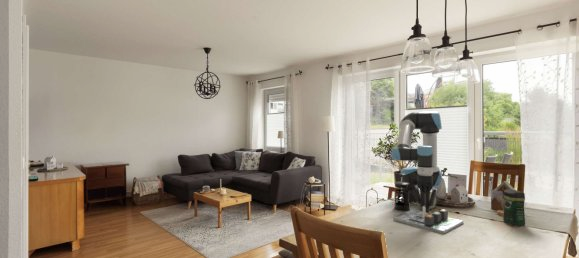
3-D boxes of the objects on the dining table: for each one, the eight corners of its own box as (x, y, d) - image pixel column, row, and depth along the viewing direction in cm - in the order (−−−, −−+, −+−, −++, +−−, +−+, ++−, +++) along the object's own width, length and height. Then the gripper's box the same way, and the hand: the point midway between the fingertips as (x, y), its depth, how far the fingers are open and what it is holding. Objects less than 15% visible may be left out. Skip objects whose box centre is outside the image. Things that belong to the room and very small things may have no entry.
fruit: (422, 205, 202) (422, 183, 201) (439, 209, 192) (439, 186, 192) (413, 208, 196) (413, 185, 195) (430, 212, 186) (430, 188, 186)
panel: (414, 212, 186) (414, 209, 186) (463, 223, 165) (463, 220, 165) (393, 220, 171) (393, 217, 171) (443, 234, 150) (443, 230, 150)
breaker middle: (435, 219, 167) (435, 211, 167) (441, 220, 164) (441, 212, 164) (432, 221, 164) (432, 213, 164) (437, 222, 162) (437, 214, 161)
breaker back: (442, 216, 172) (442, 208, 172) (447, 217, 169) (447, 209, 169) (438, 218, 169) (438, 210, 169) (444, 219, 167) (444, 211, 167)
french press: (391, 206, 199) (391, 172, 198) (405, 206, 199) (405, 172, 199) (398, 212, 187) (398, 175, 187) (413, 211, 188) (413, 175, 187)
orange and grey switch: (428, 222, 162) (428, 214, 162) (434, 223, 160) (433, 215, 159) (424, 224, 159) (424, 215, 159) (430, 225, 157) (430, 217, 157)
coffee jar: (528, 226, 159) (528, 191, 158) (513, 227, 158) (513, 192, 158) (514, 220, 168) (514, 187, 168) (500, 221, 168) (500, 188, 168)
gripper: (409, 173, 163) (410, 216, 164) (433, 177, 153) (434, 222, 154) (416, 172, 168) (417, 213, 169) (440, 175, 158) (440, 219, 158)
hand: (425, 218), depth 161 cm, fingers closed
